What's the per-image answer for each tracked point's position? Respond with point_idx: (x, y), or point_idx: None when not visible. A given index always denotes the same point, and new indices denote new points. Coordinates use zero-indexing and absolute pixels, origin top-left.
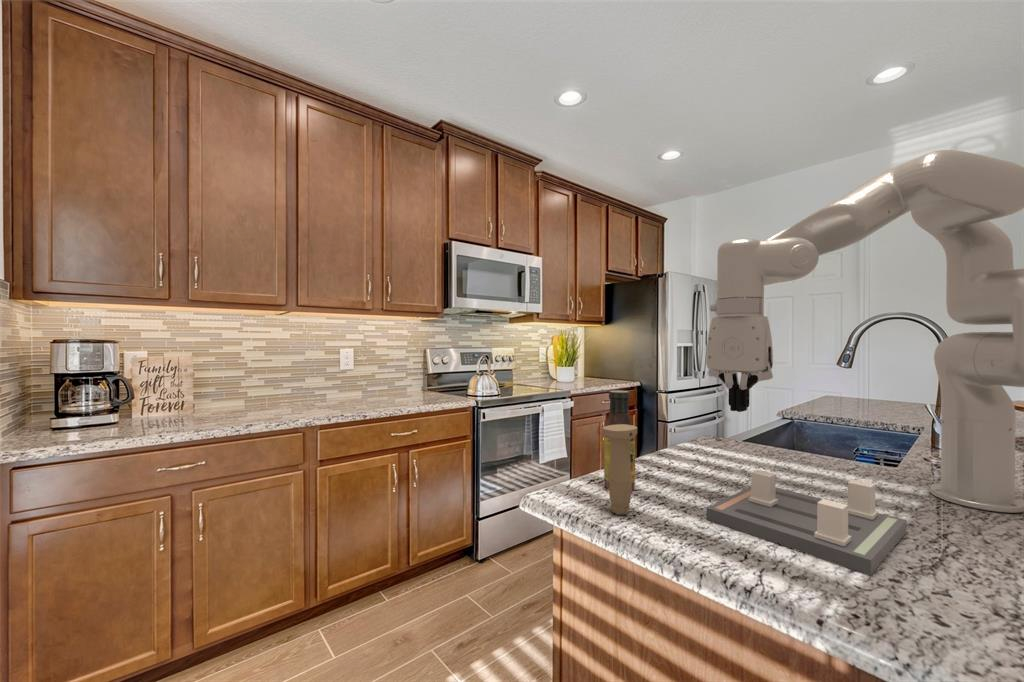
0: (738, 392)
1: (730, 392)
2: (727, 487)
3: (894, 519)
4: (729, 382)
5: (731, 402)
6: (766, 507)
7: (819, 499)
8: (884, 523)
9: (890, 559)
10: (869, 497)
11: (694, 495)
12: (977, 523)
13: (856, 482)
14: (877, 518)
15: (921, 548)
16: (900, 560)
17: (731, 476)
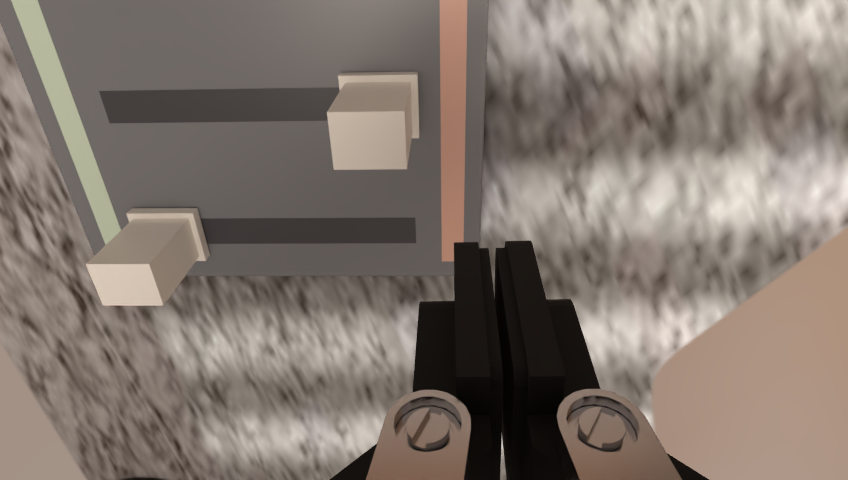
0: (466, 350)
1: (575, 377)
2: (569, 235)
3: None
4: (605, 454)
5: (530, 277)
6: (350, 62)
7: (294, 265)
8: (108, 209)
9: None
10: (109, 245)
11: (629, 67)
12: (95, 409)
13: (136, 282)
14: None
15: (51, 184)
16: None
17: (600, 336)
